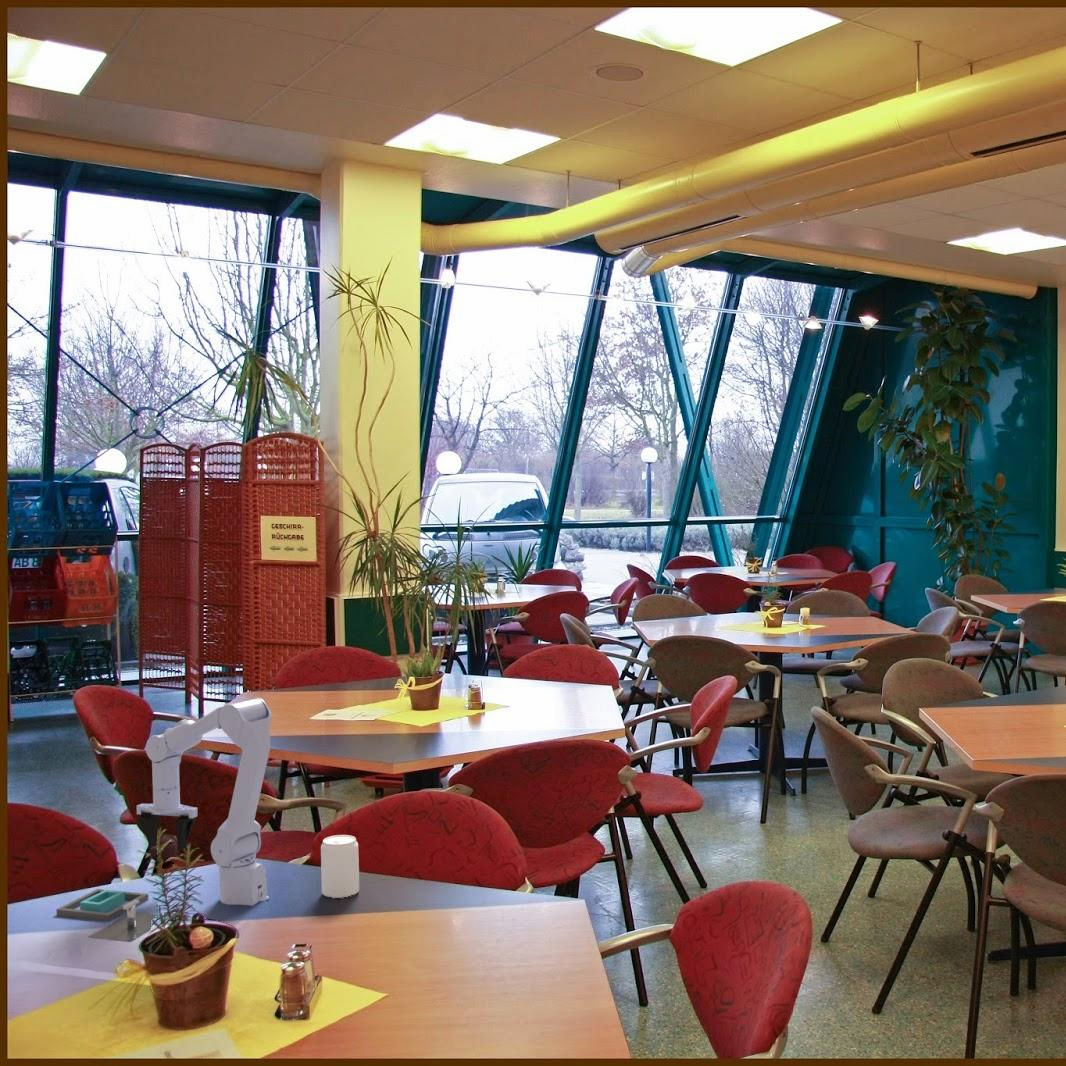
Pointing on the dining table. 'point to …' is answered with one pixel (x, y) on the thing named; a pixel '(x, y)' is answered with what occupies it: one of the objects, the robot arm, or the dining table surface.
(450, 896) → the dining table surface
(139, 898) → the tray
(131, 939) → the stand
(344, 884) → the beverage can
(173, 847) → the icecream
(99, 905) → the teal open-top box
